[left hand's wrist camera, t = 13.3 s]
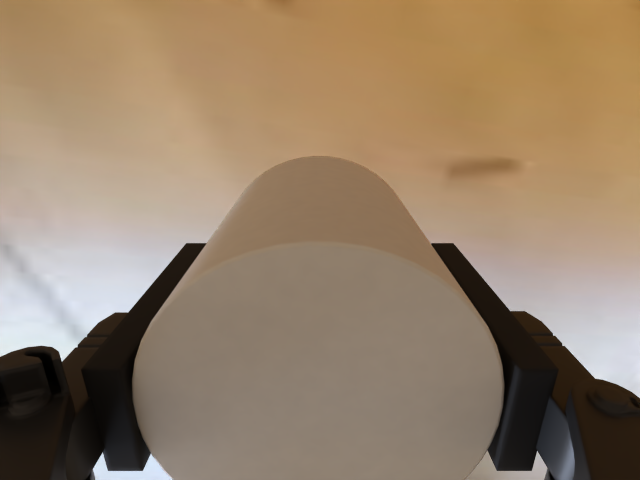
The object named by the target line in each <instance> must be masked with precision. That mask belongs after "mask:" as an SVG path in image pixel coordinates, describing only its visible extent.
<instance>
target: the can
mask: <svg viewBox="0 0 640 480" xmlns="http://www.w3.org/2000/svg"><path fill="white" fill-rule="evenodd" d="M132 400H133V405H134V409H135V414H136V419H137V423H138V427H139V429H140V432H141V435H142V437H143V439H144V441H145V443H146V445H147V447H148V449H149V450H150V452H151V454H152V456H153V457H154V458H155V460H156V461H157V462H158V464H159V465H160V466H161V468H162V469H163V470H164V471H165V472H166V473H167V474H168V475H169V476H170V478H171V479H172V480H464V479H465V478H466V477H467V476H468V475H469V474H470V473H471V472H472V471H473V469H474V468H475V467H476V466H477V464H478V463H479V462H480V461H481V459H482V458H483V456H484V454H485V453H486V451H487V449H488V448H489V446H490V444H491V443H492V440H493V438H494V435H495V433H496V430H497V428H498V426H499V422H500V418H501V413H502V409H503V401H504V376H503V366H502V362H501V359H500V355H499V351H498V348H497V345H496V343H495V341H494V338H493V336H492V334H491V332H490V330H489V328H488V326H487V324H486V323H485V322H484V320H483V319H482V317H481V316H480V314H479V313H478V311H477V310H476V308H475V307H474V306H473V304H472V303H471V301H470V300H469V298H468V297H467V295H466V294H465V293H464V291H463V290H462V288H461V287H460V285H459V284H458V283H457V281H456V280H455V278H454V277H453V275H452V274H451V272H450V271H449V270H448V268H447V267H446V265H445V264H444V262H443V261H442V260H441V258H440V257H439V255H438V254H437V252H436V251H435V249H434V248H433V247H432V245H431V244H430V242H429V241H428V239H427V238H426V236H425V235H424V234H423V232H422V231H421V229H420V228H419V226H418V225H417V224H416V222H415V221H414V219H413V218H412V216H411V215H410V213H409V212H408V211H407V209H406V208H405V206H404V205H403V203H402V202H401V200H400V199H399V198H398V196H397V195H396V193H395V192H394V191H393V189H392V188H391V187H390V186H389V185H388V184H387V183H386V182H385V181H384V180H383V179H381V178H380V177H379V176H378V175H377V174H375V173H374V172H372V171H370V170H369V169H367V168H365V167H363V166H361V165H359V164H357V163H354V162H351V161H348V160H345V159H341V158H335V157H329V156H311V157H302V158H297V159H293V160H289V161H287V162H284V163H282V164H279V165H277V166H275V167H273V168H271V169H269V170H268V171H266V172H264V173H263V174H262V175H260V176H259V177H258V178H256V179H255V180H254V181H253V182H252V183H251V184H250V185H249V186H248V187H247V188H246V189H245V191H244V192H243V193H242V195H241V196H240V197H239V199H238V200H237V202H236V203H235V204H234V206H233V207H232V209H231V210H230V211H229V213H228V214H227V216H226V217H225V218H224V220H223V221H222V223H221V224H220V225H219V227H218V228H217V230H216V231H215V233H214V234H213V235H212V237H211V238H210V240H209V241H208V242H207V244H206V245H205V247H204V248H203V249H202V251H201V252H200V254H199V255H198V256H197V258H196V259H195V261H194V262H193V263H192V265H191V266H190V268H189V269H188V270H187V272H186V273H185V275H184V276H183V277H182V279H181V280H180V282H179V283H178V284H177V286H176V287H175V289H174V290H173V291H172V293H171V294H170V296H169V297H168V298H167V300H166V301H165V303H164V304H163V305H162V307H161V308H160V310H159V311H158V313H157V314H156V315H155V317H154V318H153V320H152V321H151V323H150V325H149V326H148V328H147V330H146V332H145V334H144V336H143V338H142V340H141V343H140V346H139V349H138V352H137V355H136V358H135V363H134V370H133V377H132Z"/></svg>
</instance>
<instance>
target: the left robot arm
mask: <svg viewBox="0 0 640 480" xmlns="http://www.w3.org/2000/svg"><path fill="white" fill-rule="evenodd" d="M206 244H207V243H186V244H185V246H184V247H183V248H182V249H181V250H180V252H179V253H178V254H177V255H176V256H175V258H174V259H173V260H172V261H171V262H170V264H169V265H168V266H167V267H166V268H165V270H164V271H163V272H162V273H161V274H160V275H159V277H158V278H157V279H156V280H155V281H154V283H153V284H152V285H151V286H150V287H149V289H148V290H147V291H146V292H145V293H144V295H143V296H142V297H141V298H140V299H139V301H138V302H137V303H136V304H135V305H134V307H133V308H132V309H131V310H130V311H129V312H128V313H114V314H112V315H111V316H109V317H107V318H106V319H104V320H102V321H101V322H99V323H98V324H97V325H96V326H95V327H94V328H93V329H92V330H91V331H90V333H89V334H88V335H87V337H85V338H84V339H83V340H82V341H81V342H80V343H79V344H78V348H75V349H74V350H73V351H72V352H71V353H70V354H69V355H68V356H67V357H66V358H65V359H64V361H63V362H62V361H61V358H60V354H59V352H58V351H57V350H56V349H54V348H53V347H46V346H36V347H27V348H24V349H20V350H16V351H13V352H10V353H8V354H6V355H4V356H1V357H0V480H95V476H94V472H93V468H94V466H95V464H96V462H97V461H98V459H99V457H100V456H101V454H102V452H103V454H104V458H105V461H106V465H107V469H108V471H143V469H144V467H145V465H146V462H147V460H148V458H149V456H150V454H151V452H150V450H149V449H148V447H147V445H146V443H145V441H144V439H143V437H142V435H141V432H140V429H139V427H138V423H137V419H136V414H135V409H134V405H133V400H132V377H133V370H134V363H135V358H136V355H137V352H138V349H139V346H140V343H141V340H142V338H143V336H144V334H145V332H146V330H147V328H148V326H149V325H150V323H151V321H152V320H153V318H154V317H155V315H156V314H157V313H158V311H159V310H160V308H161V307H162V305H163V304H164V303H165V301H166V300H167V298H168V297H169V296H170V294H171V293H172V291H173V290H174V289H175V287H176V286H177V284H178V283H179V282H180V280H181V279H182V277H183V276H184V275H185V273H186V272H187V270H188V269H189V268H190V266H191V265H192V263H193V262H194V261H195V259H196V258H197V256H198V255H199V254H200V252H201V251H202V249H203V248H204V247H205V245H206ZM431 245H432V247H433V248H434V249H435V251H436V252H437V254H438V255H439V257H440V258H441V260H442V261H443V262H444V264H445V265H446V267H447V268H448V270H449V271H450V272H451V274H452V275H453V277H454V278H455V280H456V281H457V283H458V284H459V285H460V287H461V288H462V290H463V291H464V293H465V294H466V295H467V297H468V298H469V300H470V301H471V303H472V304H473V306H474V307H475V308H476V310H477V311H478V313H479V314H480V316H481V317H482V319H483V320H484V322H485V323H486V324H487V326H488V328H489V330H490V332H491V334H492V336H493V338H494V341H495V343H496V345H497V348H498V351H499V355H500V359H501V362H502V366H503V376H504V401H503V409H502V413H501V418H500V422H499V426H498V428H497V430H496V433H495V435H494V438H493V440H492V443H491V444H490V446H489V448H488V449H487V450H488V452H489V454H490V457H491V459H492V461H493V463H494V465H495V467H496V470H497V471H532V468H533V464H534V460H535V457H536V453H537V451H538V452H539V454H540V456H541V457H542V459H543V461H544V463H545V464H546V466H547V468H548V469H547V472H546V476H545V479H544V480H640V398H639V397H637V396H636V395H635V394H633V393H632V392H630V391H629V390H627V389H625V388H623V387H621V386H619V385H617V384H614V383H611V382H607V381H604V380H600V379H595V378H594V377H593V376H592V375H591V374H590V373H589V372H588V371H587V370H586V369H585V367H584V366H583V365H582V364H581V363H580V362H579V361H578V360H577V359H576V358H575V357H574V356H573V355H572V354H571V352H570V351H569V350H568V349H567V348H566V347H565V346H562V343H561V342H560V341H559V340H558V339H557V337H556V336H553V333H552V332H551V331H550V330H549V329H548V328H547V327H546V326H545V325H544V324H543V323H542V321H540V320H538V319H537V318H535V317H533V316H532V315H530V314H528V313H527V312H525V311H510V310H509V309H508V308H507V307H506V306H505V304H504V303H503V302H502V301H501V300H500V298H499V297H498V296H497V295H496V294H495V293H494V291H493V290H492V289H491V288H490V287H489V285H488V284H487V283H486V282H485V281H484V279H483V278H482V277H481V276H480V275H479V273H478V272H477V271H476V270H475V269H474V267H473V266H472V265H471V264H470V263H469V262H468V260H467V259H466V258H465V257H464V256H463V254H462V253H461V252H460V251H459V250H458V248H457V247H456V246H455V245H454V244H453V243H431Z"/></svg>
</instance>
